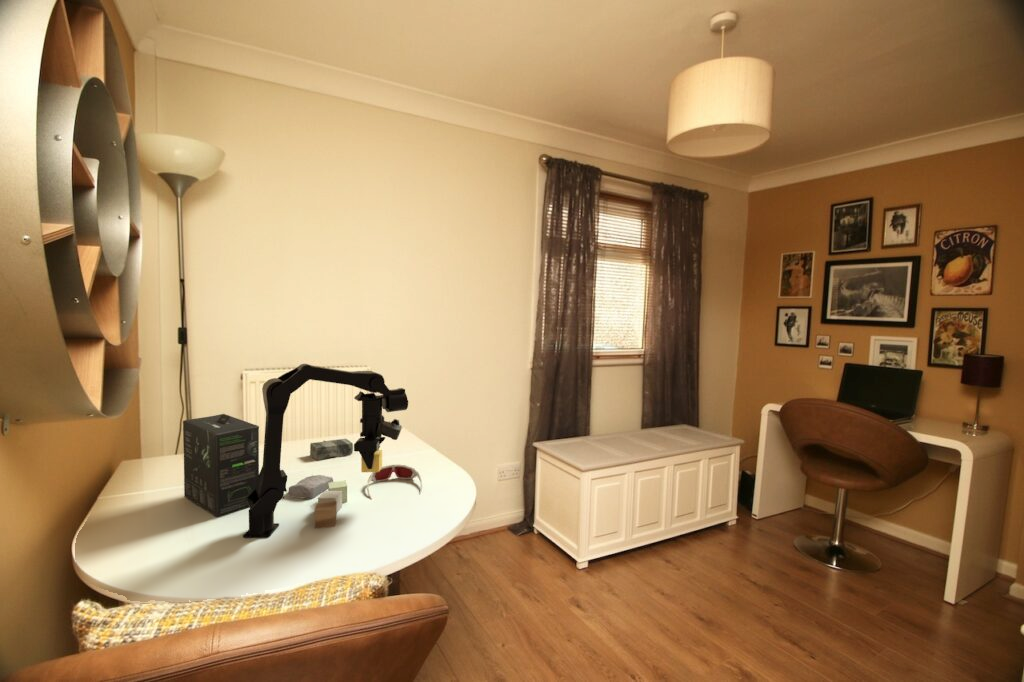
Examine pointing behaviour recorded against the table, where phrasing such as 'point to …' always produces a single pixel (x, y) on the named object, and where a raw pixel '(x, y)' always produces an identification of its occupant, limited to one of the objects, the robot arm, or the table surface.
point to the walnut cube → (325, 514)
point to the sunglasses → (399, 470)
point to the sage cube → (339, 488)
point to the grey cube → (332, 498)
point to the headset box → (220, 462)
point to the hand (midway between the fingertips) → (371, 465)
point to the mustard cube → (376, 463)
